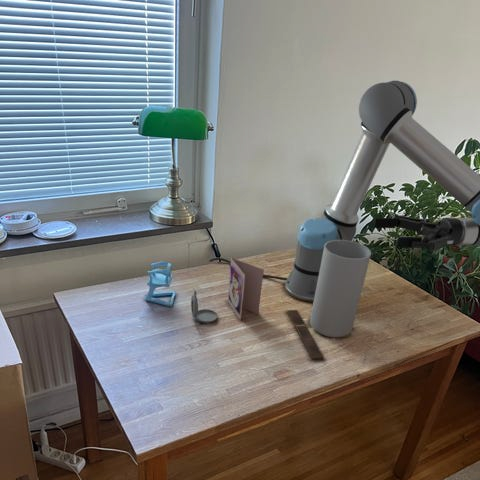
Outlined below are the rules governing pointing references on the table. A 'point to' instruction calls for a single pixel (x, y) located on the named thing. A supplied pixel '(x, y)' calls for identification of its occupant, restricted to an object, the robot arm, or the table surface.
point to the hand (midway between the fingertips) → (385, 232)
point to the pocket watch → (201, 311)
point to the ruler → (305, 335)
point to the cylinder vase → (339, 287)
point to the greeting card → (244, 287)
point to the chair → (160, 283)
